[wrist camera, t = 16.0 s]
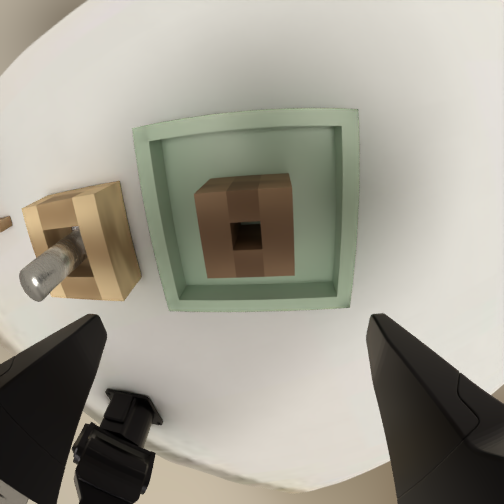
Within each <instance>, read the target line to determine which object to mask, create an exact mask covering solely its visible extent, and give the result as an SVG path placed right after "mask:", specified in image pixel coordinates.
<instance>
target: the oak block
mask: <svg viewBox="0 0 504 504" xmlns="http://www.w3.org/2000/svg"><path fill="white" fill-rule="evenodd" d="M22 212H23V216H24V220H25V223H26V227H27V230H28V234H29V237H30V240H31V243H32V246H33V249H34V252H35V255H36V258H37V257H38V256H40V255H41V254H42V253H44V252H45V251H46V250H48V249H49V248H50V247H52V246H53V245H54V244H56V243H57V242H58V241H60V240H61V239H63V238H64V237H65V236H67V235H68V234H70V233H71V232H73V231H72V228H71V227H73V226H79V229H80V233H81V236H82V240H83V243H84V247H85V250H86V253H87V257H88V258H87V259H85V260H84V261H83V262H82V263H81V264H80V265H79V266H78V267H77V268H76V269H74V270H73V271H72V272H71V273H70V274H69V275H68V276H67V277H66V278H65V279H64V280H63V281H62V282H61V283H60V284H59V285H57V286H56V287H55V288H54V289H53V290H52V291H51V292H50V294H51V297H60V298H75V299H91V300H110V301H124V300H125V299H126V297H127V296H128V295H129V293H130V292H131V291H132V289H133V288H134V287H135V285H136V284H137V283H138V281H139V280H140V279H141V277H142V276H141V273H140V269H139V265H138V262H137V258H136V254H135V250H134V246H133V242H132V238H131V234H130V229H129V225H128V221H127V216H126V211H125V207H124V202H123V197H122V192H121V186H120V181H117V182H111V183H105V184H100V185H95V186H89V187H84V188H79V189H75V190H70V191H65V192H61V193H56V194H52V195H48V196H46V197H44V198H42V199H40V200H38V201H36V202H34V203H32V204H30V205H28V206H26V207H24V208H22Z"/></svg>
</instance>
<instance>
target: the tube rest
mask: <svg viewBox="0 0 504 504" xmlns="http://www.w3.org/2000/svg"><path fill="white" fill-rule="evenodd" d="M10 226H12V222H11V218H10V216H9V217H5V218H0V232H2V231H4V230H6V229H7V228H9V227H10Z"/></svg>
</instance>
